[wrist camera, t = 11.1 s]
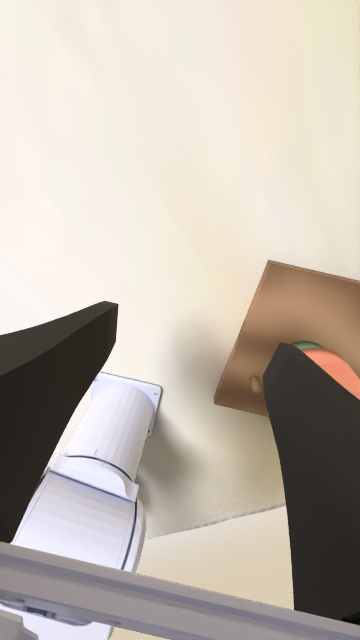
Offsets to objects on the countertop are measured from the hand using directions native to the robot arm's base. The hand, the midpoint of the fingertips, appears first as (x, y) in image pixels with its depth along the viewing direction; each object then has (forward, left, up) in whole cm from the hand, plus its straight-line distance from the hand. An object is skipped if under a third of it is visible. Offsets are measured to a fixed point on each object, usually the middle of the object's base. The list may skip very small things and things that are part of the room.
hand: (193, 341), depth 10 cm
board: (-6, -11, -10) cm, 16 cm away
